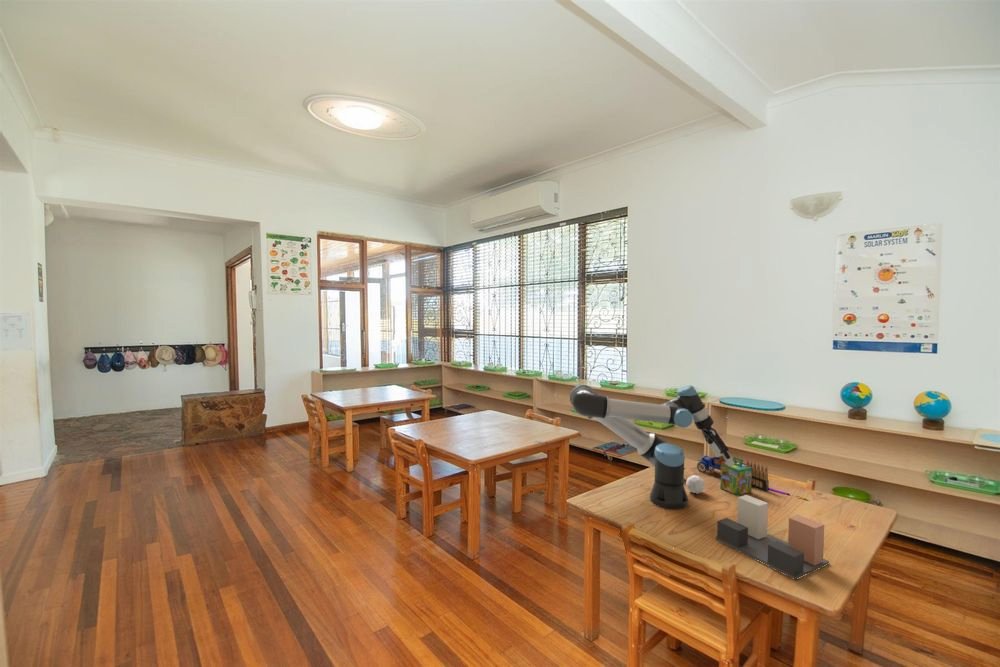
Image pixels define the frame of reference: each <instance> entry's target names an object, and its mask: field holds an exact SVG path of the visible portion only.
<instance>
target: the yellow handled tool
mask: <svg viewBox="0 0 1000 667" xmlns="http://www.w3.org/2000/svg"><path fill="white" fill-rule="evenodd" d="M769 491H772V492H775V493H779V494H783V495H786V494H787V495H786V496H791V493H788V492H786V491H781V490H779V489H775V488H773V487H769ZM795 496H796V497H800V498H803V499H802V500H804V499H807V498H806V497H803V496H800V495H797V494H796V495H795ZM796 497H795V498H796ZM800 498H799V499H800Z"/></svg>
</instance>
